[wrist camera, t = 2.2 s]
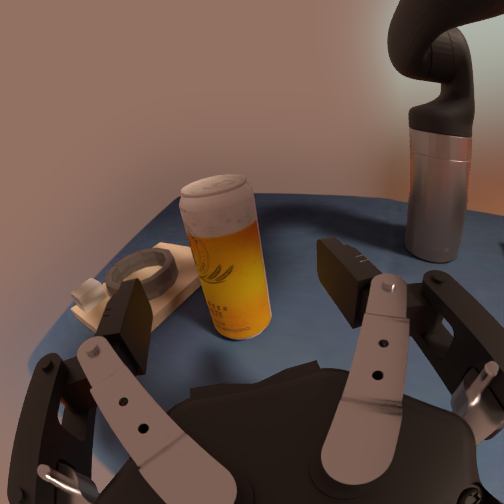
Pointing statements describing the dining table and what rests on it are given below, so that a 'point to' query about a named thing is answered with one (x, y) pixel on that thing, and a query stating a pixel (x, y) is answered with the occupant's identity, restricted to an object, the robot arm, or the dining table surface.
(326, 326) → the dining table surface
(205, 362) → the dining table surface
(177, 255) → the board
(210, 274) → the beer can
